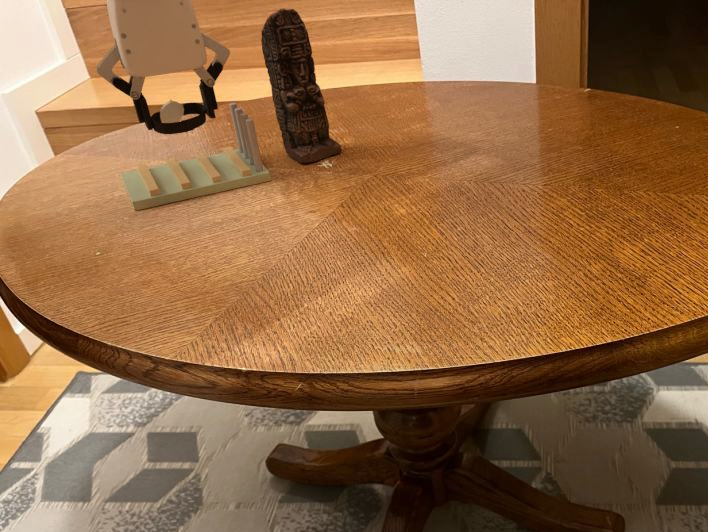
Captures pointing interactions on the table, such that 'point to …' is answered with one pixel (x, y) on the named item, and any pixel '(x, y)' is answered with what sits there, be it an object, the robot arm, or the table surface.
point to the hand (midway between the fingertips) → (180, 120)
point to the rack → (200, 171)
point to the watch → (178, 117)
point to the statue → (296, 88)
